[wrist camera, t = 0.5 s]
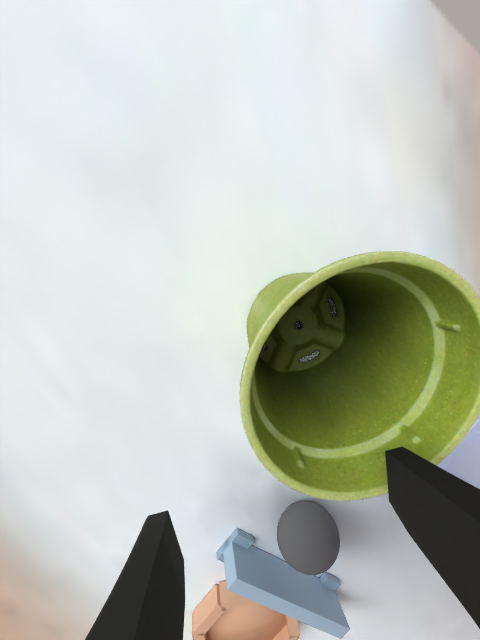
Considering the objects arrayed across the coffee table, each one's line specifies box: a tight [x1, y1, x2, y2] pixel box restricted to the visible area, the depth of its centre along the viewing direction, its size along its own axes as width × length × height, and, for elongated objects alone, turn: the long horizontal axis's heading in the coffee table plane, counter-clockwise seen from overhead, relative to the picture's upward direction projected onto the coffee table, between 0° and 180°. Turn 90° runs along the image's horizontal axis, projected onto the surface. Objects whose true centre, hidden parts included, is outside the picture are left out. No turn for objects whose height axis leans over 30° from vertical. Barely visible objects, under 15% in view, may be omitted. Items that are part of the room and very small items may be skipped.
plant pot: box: [240, 251, 480, 501], centre depth 15 cm, size 9×9×9 cm
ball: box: [277, 501, 340, 575], centre depth 21 cm, size 4×4×4 cm
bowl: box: [192, 581, 300, 640], centre depth 24 cm, size 8×8×1 cm
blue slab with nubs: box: [217, 528, 350, 639], centre depth 23 cm, size 10×2×3 cm, turn 53°
